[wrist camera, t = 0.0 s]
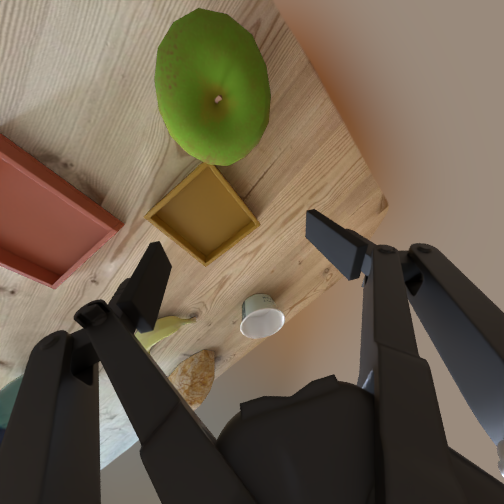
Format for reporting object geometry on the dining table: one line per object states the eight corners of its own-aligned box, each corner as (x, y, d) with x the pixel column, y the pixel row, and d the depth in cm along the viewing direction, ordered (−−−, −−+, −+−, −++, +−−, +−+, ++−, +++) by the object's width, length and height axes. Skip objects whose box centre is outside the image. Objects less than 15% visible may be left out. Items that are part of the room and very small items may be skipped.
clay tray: (-70, 213, 26) (-103, 222, 23) (-6, 128, 23) (-35, 127, 20) (66, 278, 35) (54, 289, 33) (125, 224, 32) (117, 231, 30)
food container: (284, 294, 51) (293, 313, 46) (264, 321, 56) (270, 340, 51) (248, 285, 47) (254, 304, 41) (230, 315, 51) (232, 336, 46)
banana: (104, 361, 40) (188, 321, 42) (108, 337, 43) (185, 301, 46) (144, 369, 50) (209, 336, 52) (144, 349, 54) (205, 319, 56)
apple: (184, 25, 22) (165, -63, 12) (268, 88, 26) (301, 60, 17) (161, 134, 27) (135, 132, 17) (235, 171, 31) (246, 185, 22)
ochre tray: (148, 211, 32) (143, 217, 29) (208, 156, 29) (208, 158, 27) (205, 258, 40) (205, 267, 37) (257, 218, 37) (260, 225, 34)
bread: (175, 401, 72) (171, 435, 64) (147, 400, 67) (139, 437, 59) (223, 353, 61) (226, 386, 53) (194, 347, 56) (191, 383, 48)
